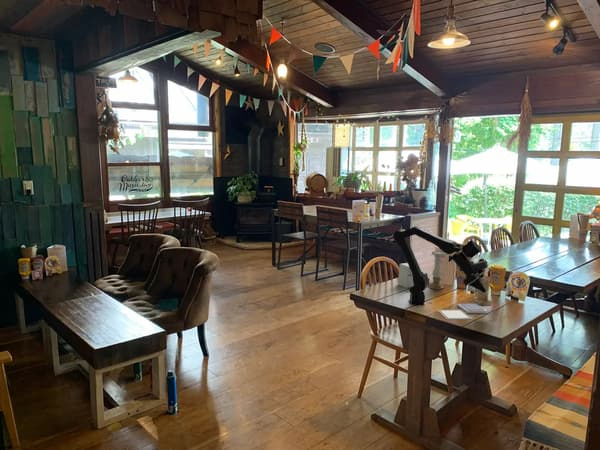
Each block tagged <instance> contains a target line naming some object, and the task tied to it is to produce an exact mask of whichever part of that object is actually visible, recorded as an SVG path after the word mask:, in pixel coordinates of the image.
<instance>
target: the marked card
mask: <svg viewBox="0 0 600 450" xmlns="http://www.w3.org/2000/svg"><path fill="white" fill-rule="evenodd" d="M437 312H439V313H440V314H441V315H442V316H443V317H444V318H445V319H447V320H473V318H472V317H471V316H470V315H468V313H466V312H465V311H464V310H462V309H437Z"/></svg>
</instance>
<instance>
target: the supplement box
mask: <svg viewBox="0 0 600 450" xmlns="http://www.w3.org/2000/svg"><path fill="white" fill-rule="evenodd" d="M398 266H399V268H398V278H397V281H398V282H397V283H398V284H397V285H398V286H401V287H402V288H406V289H409V288H411V287H412V286H414V284H413V275H412V272H411V270H410V267H409V265H408V263H407V262H404V263H399V265H398Z"/></svg>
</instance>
